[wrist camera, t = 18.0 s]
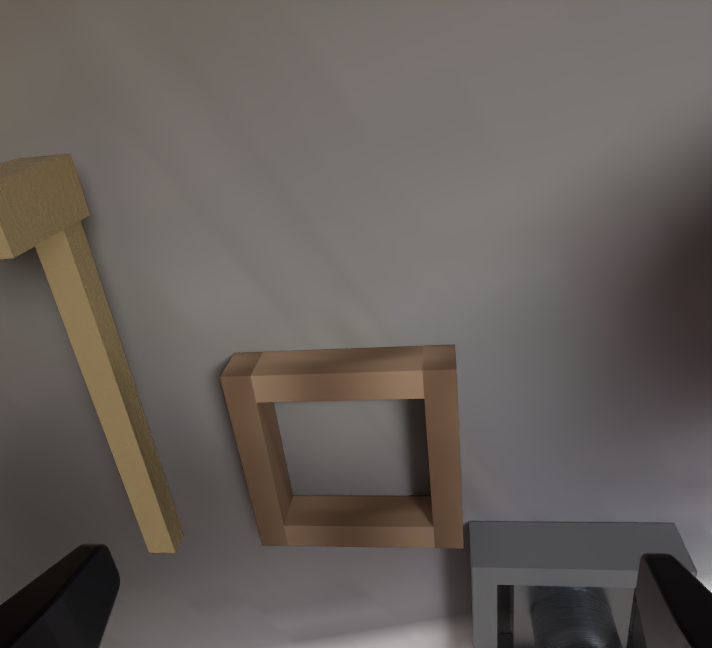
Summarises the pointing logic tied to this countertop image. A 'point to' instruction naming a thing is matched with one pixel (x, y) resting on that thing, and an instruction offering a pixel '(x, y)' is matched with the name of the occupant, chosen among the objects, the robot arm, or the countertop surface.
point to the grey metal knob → (570, 616)
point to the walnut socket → (338, 383)
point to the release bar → (87, 326)
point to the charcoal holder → (560, 563)
